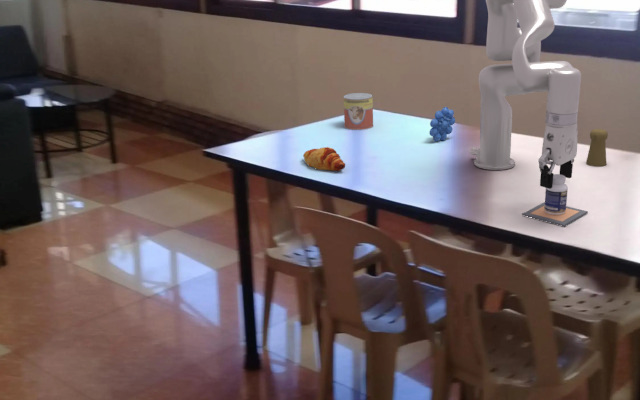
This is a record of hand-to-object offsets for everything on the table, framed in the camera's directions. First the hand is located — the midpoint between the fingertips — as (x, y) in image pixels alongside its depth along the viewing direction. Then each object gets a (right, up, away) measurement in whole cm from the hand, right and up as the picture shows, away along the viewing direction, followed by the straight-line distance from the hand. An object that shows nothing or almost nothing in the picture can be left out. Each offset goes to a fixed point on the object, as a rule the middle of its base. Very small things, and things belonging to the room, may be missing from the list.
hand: (555, 182), depth 191 cm
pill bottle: (+1, -8, +2) cm, 8 cm away
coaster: (0, -8, +2) cm, 9 cm away
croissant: (-59, +6, +51) cm, 79 cm away
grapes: (-18, +17, +74) cm, 78 cm away
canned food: (-46, +24, +97) cm, 110 cm away
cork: (+26, +7, +41) cm, 49 cm away
